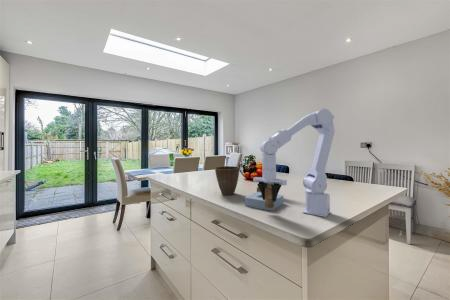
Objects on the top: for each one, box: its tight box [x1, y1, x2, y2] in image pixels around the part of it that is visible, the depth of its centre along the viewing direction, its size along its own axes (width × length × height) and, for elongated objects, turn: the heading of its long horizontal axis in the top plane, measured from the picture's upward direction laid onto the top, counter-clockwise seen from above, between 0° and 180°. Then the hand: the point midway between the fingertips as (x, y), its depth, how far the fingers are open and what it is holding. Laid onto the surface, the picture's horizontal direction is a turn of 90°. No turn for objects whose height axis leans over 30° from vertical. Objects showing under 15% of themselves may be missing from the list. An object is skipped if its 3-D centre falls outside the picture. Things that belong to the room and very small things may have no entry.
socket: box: [244, 191, 284, 212], centre depth 101 cm, size 14×14×4 cm
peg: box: [265, 187, 274, 208], centre depth 87 cm, size 4×4×8 cm
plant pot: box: [214, 166, 240, 196], centre depth 124 cm, size 15×15×16 cm
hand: (269, 200), depth 88 cm, fingers closed on peg, 4 cm apart
